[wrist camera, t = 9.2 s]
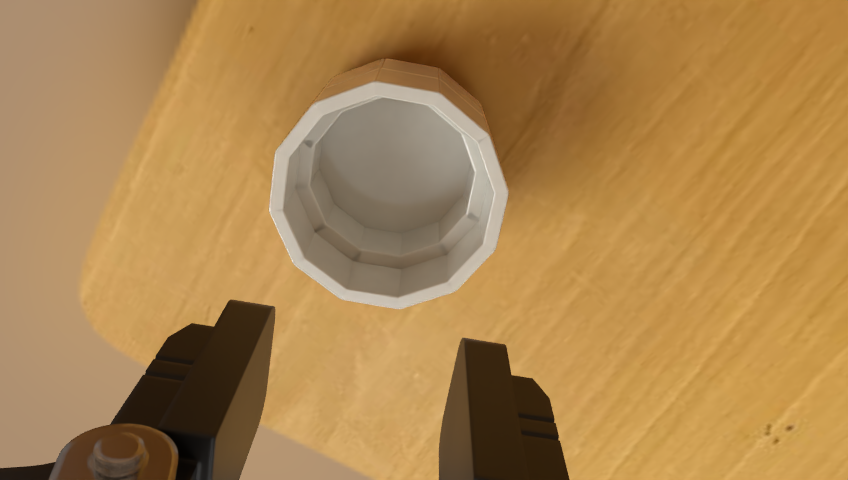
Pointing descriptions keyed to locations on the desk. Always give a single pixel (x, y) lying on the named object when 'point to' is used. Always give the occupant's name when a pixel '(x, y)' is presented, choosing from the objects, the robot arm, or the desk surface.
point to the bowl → (389, 186)
